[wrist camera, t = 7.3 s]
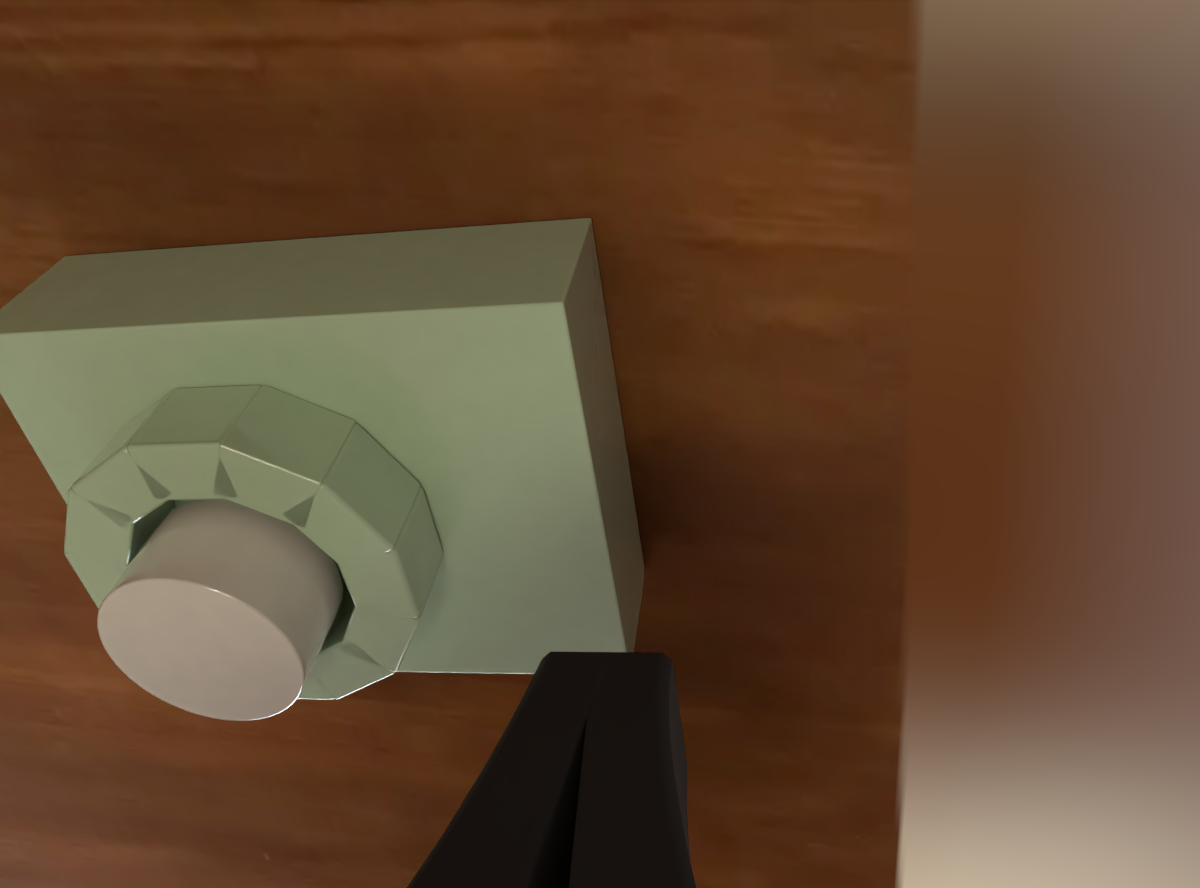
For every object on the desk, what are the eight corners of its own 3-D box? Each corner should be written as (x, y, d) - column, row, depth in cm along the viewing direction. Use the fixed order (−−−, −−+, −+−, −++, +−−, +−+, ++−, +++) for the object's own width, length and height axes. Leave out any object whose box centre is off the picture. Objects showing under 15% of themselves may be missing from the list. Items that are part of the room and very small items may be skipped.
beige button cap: (309, 494, 17) (261, 579, 15) (366, 637, 19) (330, 724, 18) (123, 498, 18) (58, 580, 16) (198, 635, 20) (148, 719, 18)
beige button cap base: (591, 216, 18) (542, 364, 14) (645, 570, 24) (620, 748, 20) (64, 255, 20) (-106, 393, 16) (223, 571, 26) (124, 733, 22)
